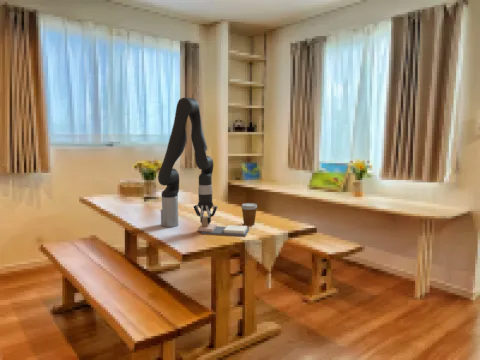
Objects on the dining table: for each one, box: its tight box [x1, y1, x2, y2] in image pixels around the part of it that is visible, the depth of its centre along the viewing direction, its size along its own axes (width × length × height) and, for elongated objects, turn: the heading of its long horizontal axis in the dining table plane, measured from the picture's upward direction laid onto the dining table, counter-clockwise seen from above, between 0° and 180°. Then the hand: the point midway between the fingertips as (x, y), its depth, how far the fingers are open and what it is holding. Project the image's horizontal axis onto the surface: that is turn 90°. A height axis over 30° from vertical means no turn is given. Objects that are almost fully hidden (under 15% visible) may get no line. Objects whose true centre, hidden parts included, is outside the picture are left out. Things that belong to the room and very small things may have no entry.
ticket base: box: [200, 224, 250, 237], centre depth 193 cm, size 24×13×2 cm, turn 79°
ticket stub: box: [197, 215, 218, 232], centre depth 195 cm, size 8×10×6 cm
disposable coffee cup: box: [241, 202, 258, 227], centre depth 208 cm, size 10×10×12 cm
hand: (205, 223), depth 195 cm, fingers closed on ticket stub, 3 cm apart
